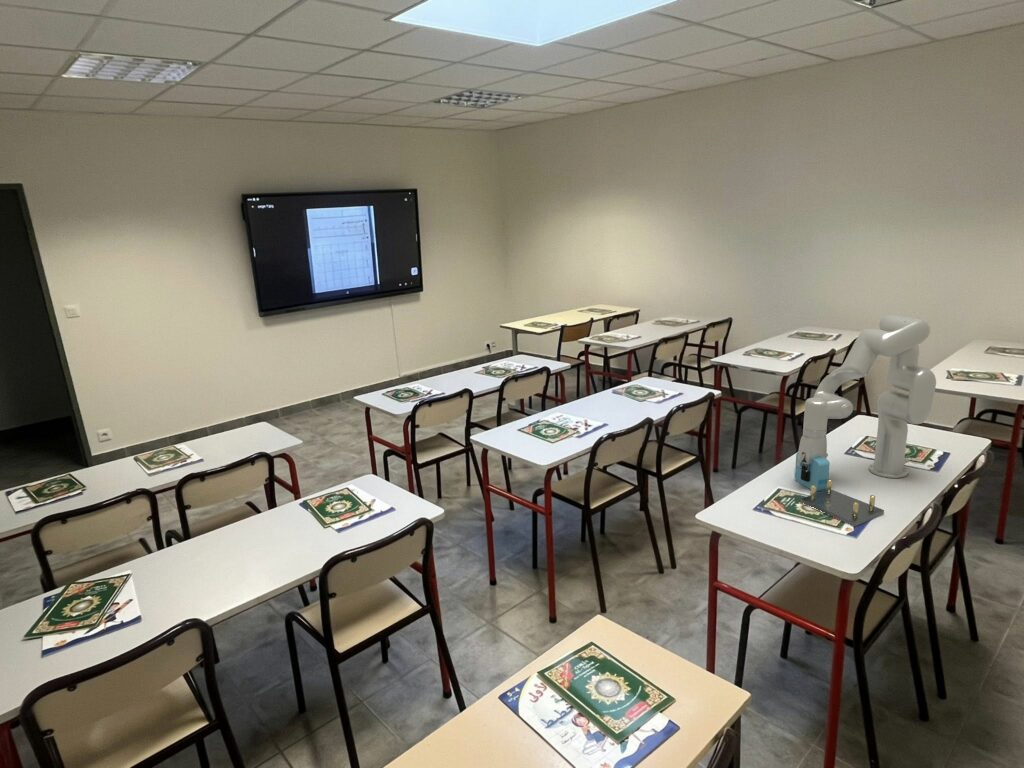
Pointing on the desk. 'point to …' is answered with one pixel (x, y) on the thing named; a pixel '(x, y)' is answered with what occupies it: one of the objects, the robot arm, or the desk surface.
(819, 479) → the data package
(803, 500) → the plate
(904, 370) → the robot arm
